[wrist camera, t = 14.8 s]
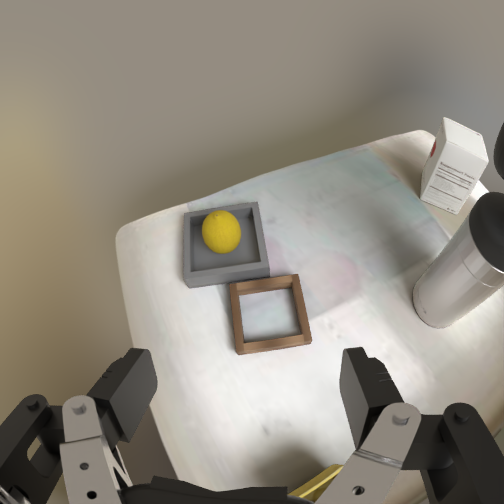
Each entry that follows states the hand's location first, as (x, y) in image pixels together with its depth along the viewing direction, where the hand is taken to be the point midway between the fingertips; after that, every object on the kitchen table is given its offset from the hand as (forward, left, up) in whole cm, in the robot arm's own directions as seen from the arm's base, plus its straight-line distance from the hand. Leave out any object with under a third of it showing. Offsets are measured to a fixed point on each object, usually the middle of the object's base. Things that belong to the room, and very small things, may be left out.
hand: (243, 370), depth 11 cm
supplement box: (-40, -29, -26) cm, 56 cm away
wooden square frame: (-2, -11, -26) cm, 29 cm away
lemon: (+3, -23, -26) cm, 35 cm away
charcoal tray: (+3, -23, -26) cm, 35 cm away
